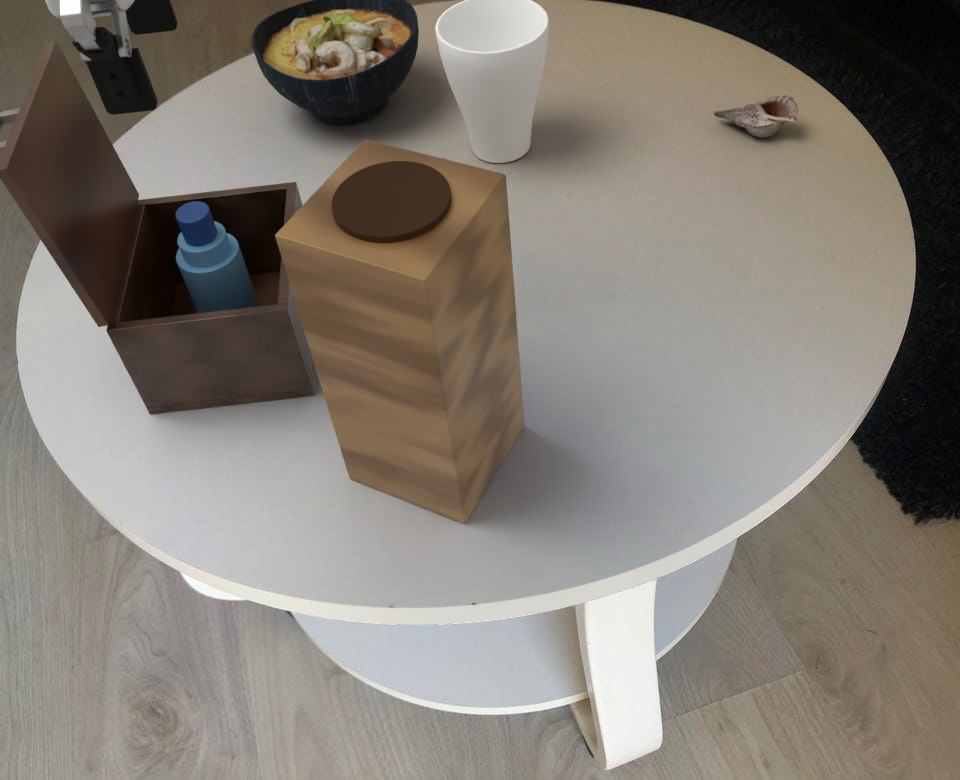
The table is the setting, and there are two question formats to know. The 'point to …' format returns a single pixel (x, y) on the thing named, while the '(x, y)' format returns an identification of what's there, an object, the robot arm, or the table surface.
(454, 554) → the table surface
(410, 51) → the bowl
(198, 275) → the bottle
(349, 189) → the coaster
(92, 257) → the wooden box lid
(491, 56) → the cup
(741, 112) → the seashell
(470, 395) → the stand
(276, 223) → the brown wooden box
